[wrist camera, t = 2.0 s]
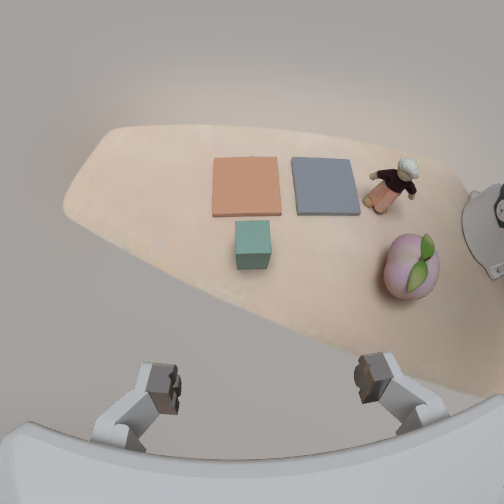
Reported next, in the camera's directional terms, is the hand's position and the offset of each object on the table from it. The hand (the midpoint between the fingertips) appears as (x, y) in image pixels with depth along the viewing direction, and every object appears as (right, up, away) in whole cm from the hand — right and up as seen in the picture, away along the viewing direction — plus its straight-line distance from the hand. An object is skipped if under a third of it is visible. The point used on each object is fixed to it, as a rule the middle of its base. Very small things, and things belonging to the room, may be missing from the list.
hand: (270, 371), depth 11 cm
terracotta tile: (-2, +15, +32) cm, 35 cm away
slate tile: (+11, +16, +32) cm, 37 cm away
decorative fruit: (+21, +1, +28) cm, 35 cm away
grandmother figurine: (+20, +13, +32) cm, 39 cm away
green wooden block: (-1, +5, +28) cm, 29 cm away
